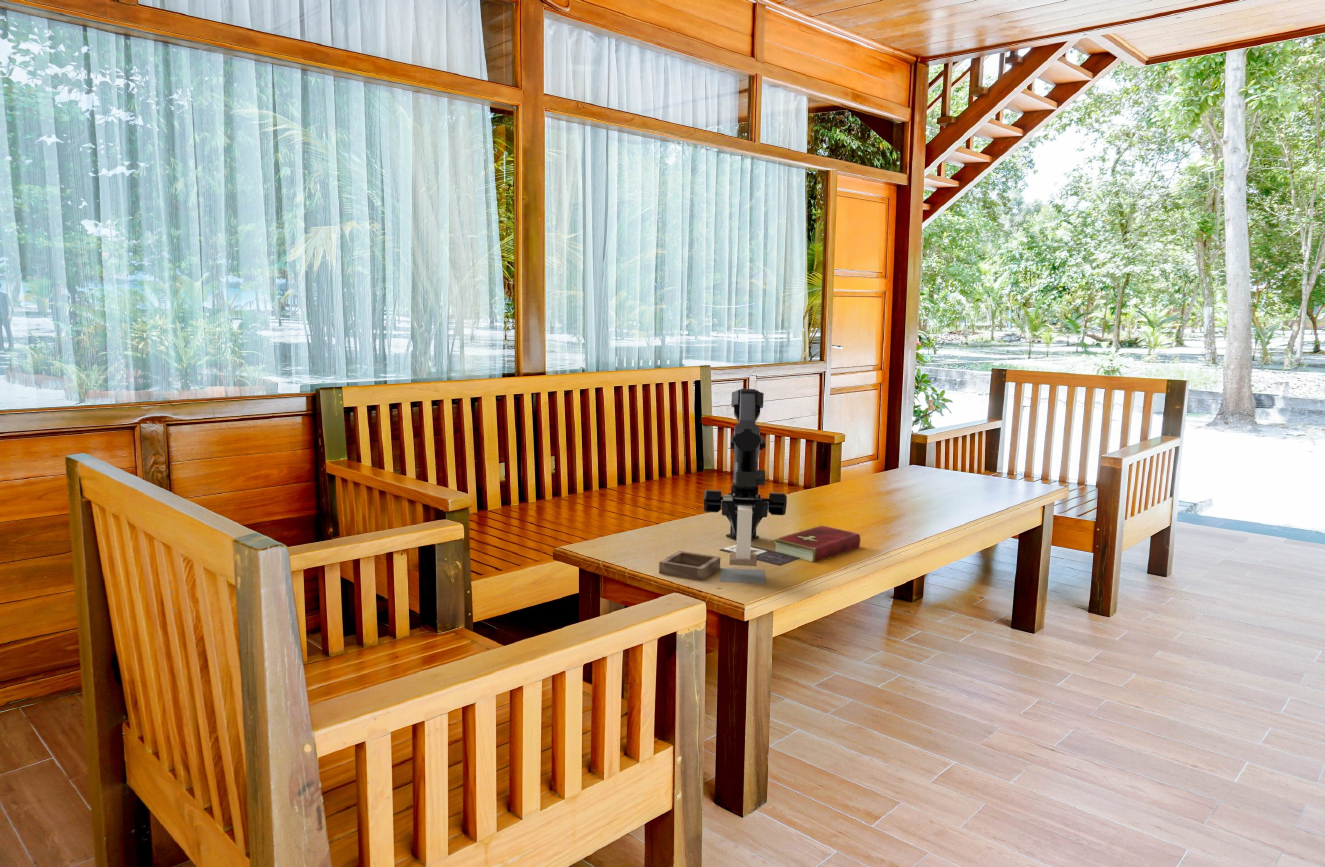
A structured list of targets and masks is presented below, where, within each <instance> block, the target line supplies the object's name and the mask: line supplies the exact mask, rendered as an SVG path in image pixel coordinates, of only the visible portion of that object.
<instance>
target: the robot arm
mask: <svg viewBox="0 0 1325 867" xmlns="http://www.w3.org/2000/svg"><path fill="white" fill-rule="evenodd" d="M764 395H765V394H764V392H761V391H759V390H756V389H755V388H740V389H736V390H734V391H732V392H731V408H733V415H734V418H735V419H736V421H737V422H738V424H736V425H735V426H734V428H733V430H734V431H733V433H734V434H732V435H730V450H732V451H733V452H732V453H733V457H734V459H733V478H732V480H733V481H732V484H731V486H730V492H728V493H727V494H722V490H720V489H719V490H717V489H706V490H705V491H704V493H703V511H704V512H705V513H719V512H721V516H724V517H726V518H727V519H728V521H729V523H730V528H729V530H730V532H729V533H727V534H725V537H726V538H730V539H733V540H736V541H737V514H738V505H744V506H752V529H751V541H752V540H756V539H759V538H760V536H759V535H757V529H758V526H759V524H760V522H761V520H763V518H767V517H768V513H769V514H770V515H772V516H785V515H786V510H787V505H788V504H787V503H788V498H787V497H788V496H787V494H786V493H784V492H769V495H768V497H767V498H764V497H762V496H761V494H760V493H759V486H762V487H763V486H765V485H766V470H764V469H763V470H762V469H759V458H760V452H763V450H764V449H766V440H765V439H764V436H763V435H761V428H760V426H759V425H757V424H756V422H757V420H759V417H760V416H761V409H764V398H765V397H764Z"/></svg>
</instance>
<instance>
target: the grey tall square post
mask: <svg viewBox="0 0 1325 867" xmlns="http://www.w3.org/2000/svg"><path fill="white" fill-rule="evenodd" d="M751 529H752V506H744V505H738V514H737V540H736V544H735V545H736V552H730V553H729V563H728V564H729V565H730V566H740V567H741V566H745V567H757V564H758V560H757V557H756V553H751V546H752V540H751Z"/></svg>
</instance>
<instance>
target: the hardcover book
mask: <svg viewBox="0 0 1325 867" xmlns="http://www.w3.org/2000/svg"><path fill="white" fill-rule="evenodd" d="M773 541H774V542H775V551H776V552H780V553H783V554H787V555H791V556H795V557H799V558H800V559H801V560H805V561H808V562H809V561H810V562H812V563H815V562H818V561H821V560H824V559H825V560H827V559H829V557H830V558H833V557H835V555H836V556H838V554H839V555H841V553H842V554H843V553H844V552H845V553H848V552H850V551H853V550H855V548H856V549H859V548H860V547H861V534H860V533H859V532H853V531H849V530H845V529H841V528H836V527H832V526H827V525H823V524H820V525H818V526H814V527H810V528H806V529H804V530H799V531H797V532H793V533H790V534H786V535H784V536H780V537H777V538H774V539H773ZM858 547H859V548H858ZM852 549H853V550H852ZM849 550H850V551H849ZM832 556H833V557H832ZM826 558H827V559H826Z"/></svg>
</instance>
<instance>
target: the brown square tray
mask: <svg viewBox="0 0 1325 867" xmlns="http://www.w3.org/2000/svg"><path fill="white" fill-rule="evenodd" d="M720 569H721V557H720V556H714V555H707V554H701V553H695V552H688V551H681V550H677V551H676V552H675V553H673V554H670V556H667V557H666V558H664V559H662V560H660V561H659V564H658V573H659V574H663V575H668V576H675V577H681V578H688V579H692V580H699V581H702V580H704V579H706V578H707V577H709V576H711V575H712V574H713V573H714V572H716V571H718V570H720Z"/></svg>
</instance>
